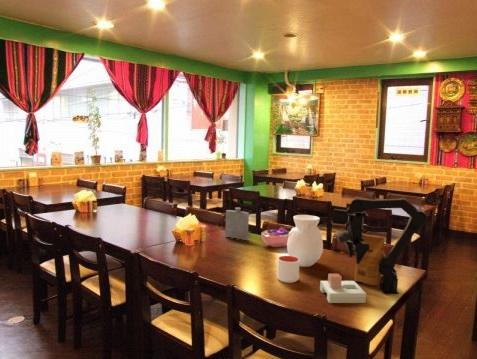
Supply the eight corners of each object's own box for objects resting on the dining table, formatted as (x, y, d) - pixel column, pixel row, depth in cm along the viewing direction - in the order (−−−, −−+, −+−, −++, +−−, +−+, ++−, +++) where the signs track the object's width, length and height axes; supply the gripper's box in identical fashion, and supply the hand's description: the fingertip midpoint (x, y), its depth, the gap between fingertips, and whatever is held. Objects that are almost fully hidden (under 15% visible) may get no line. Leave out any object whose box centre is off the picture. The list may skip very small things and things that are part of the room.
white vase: (321, 271, 201) (324, 222, 199) (284, 267, 205) (286, 219, 202) (321, 260, 220) (324, 214, 217) (287, 257, 223) (289, 212, 220)
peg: (337, 293, 173) (338, 273, 172) (340, 298, 169) (341, 277, 168) (327, 293, 173) (328, 273, 172) (330, 298, 169) (331, 277, 168)
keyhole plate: (353, 289, 179) (354, 280, 178) (365, 302, 165) (366, 293, 164) (320, 289, 178) (320, 280, 177) (329, 302, 164) (329, 293, 163)
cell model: (255, 244, 248) (256, 226, 247) (283, 241, 256) (284, 223, 255) (269, 251, 233) (269, 232, 231) (298, 248, 241) (299, 229, 240)
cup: (296, 276, 194) (297, 255, 193) (300, 283, 184) (301, 262, 183) (275, 275, 193) (276, 255, 192) (278, 283, 184) (279, 262, 182)
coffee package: (359, 276, 196) (362, 231, 195) (384, 282, 188) (388, 235, 187) (350, 280, 188) (354, 234, 187) (377, 287, 180) (381, 238, 179)
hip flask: (224, 237, 261) (225, 206, 259) (227, 236, 265) (228, 205, 263) (246, 241, 254) (247, 209, 252) (249, 239, 258) (250, 208, 255)
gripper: (332, 221, 188) (330, 253, 190) (345, 231, 170) (343, 267, 171) (355, 221, 189) (353, 254, 191) (371, 231, 171) (368, 267, 172)
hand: (354, 260), depth 181 cm, fingers open, 9 cm apart
